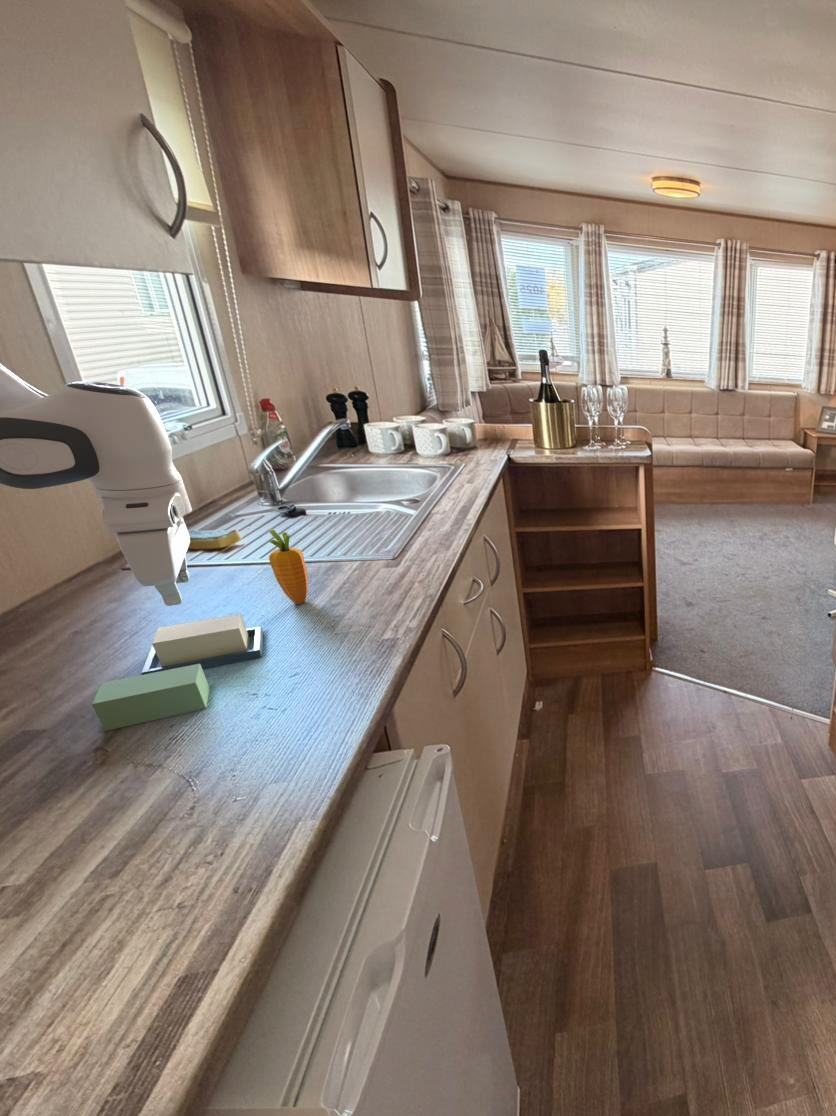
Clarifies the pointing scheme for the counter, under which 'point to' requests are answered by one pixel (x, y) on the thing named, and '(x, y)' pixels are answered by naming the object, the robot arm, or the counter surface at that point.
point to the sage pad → (151, 696)
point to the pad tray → (212, 661)
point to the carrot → (289, 568)
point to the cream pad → (200, 639)
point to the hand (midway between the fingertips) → (178, 592)
